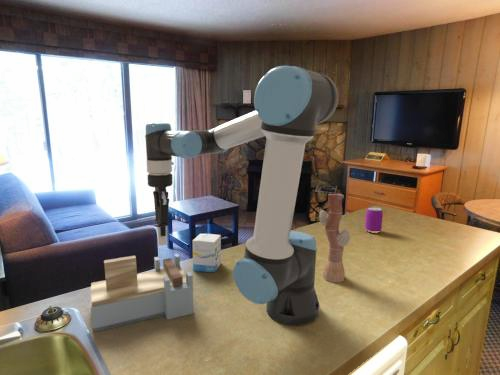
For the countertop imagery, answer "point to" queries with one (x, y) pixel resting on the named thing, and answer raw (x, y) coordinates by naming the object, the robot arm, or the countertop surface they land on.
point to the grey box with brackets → (147, 304)
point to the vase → (334, 238)
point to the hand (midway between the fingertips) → (162, 244)
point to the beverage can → (374, 219)
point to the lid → (127, 282)
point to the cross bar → (172, 272)
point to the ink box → (206, 252)
